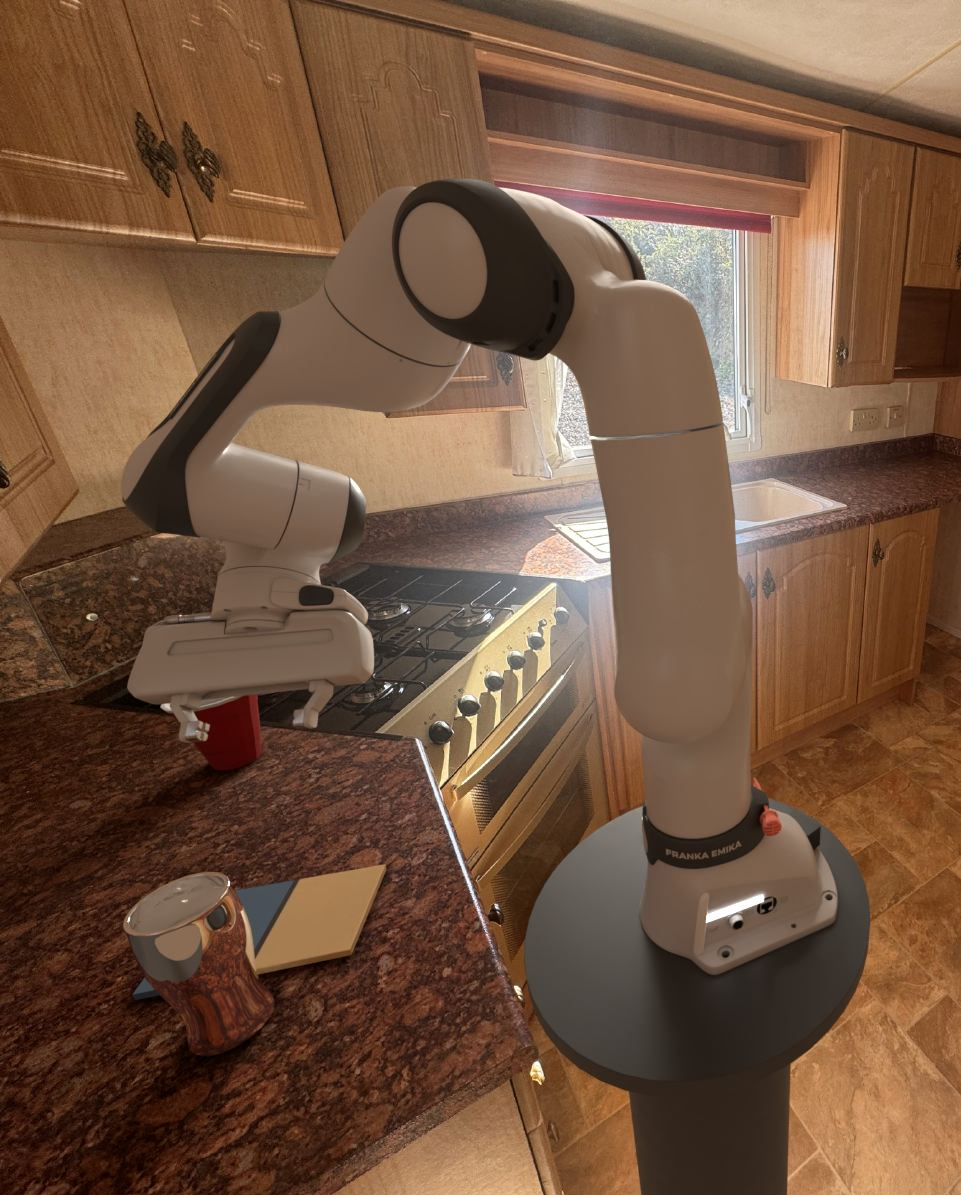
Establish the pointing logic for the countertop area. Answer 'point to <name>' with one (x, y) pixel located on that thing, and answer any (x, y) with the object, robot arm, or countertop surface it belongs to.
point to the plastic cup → (228, 730)
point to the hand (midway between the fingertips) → (249, 734)
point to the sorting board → (304, 919)
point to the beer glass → (201, 960)
